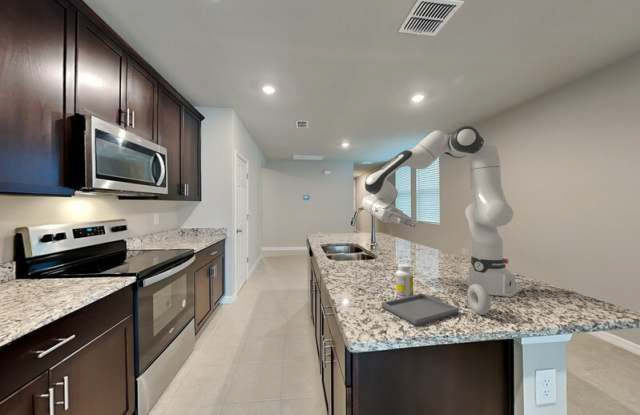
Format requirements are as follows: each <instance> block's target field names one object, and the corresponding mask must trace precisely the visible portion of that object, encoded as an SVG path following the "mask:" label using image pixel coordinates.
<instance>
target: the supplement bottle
mask: <svg viewBox="0 0 640 415" xmlns="http://www.w3.org/2000/svg"><path fill="white" fill-rule="evenodd" d="M397 269H398V270H397V271H395V290H396V291H395V292H396V293H395V294H396V297H398V298H404V297H408V296H413V295H414V274H413V272H412V271H411V270H410V269H411V265H410V264H407V263H400V264H399V263H398V265H397Z"/></svg>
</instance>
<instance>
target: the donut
mask: <svg viewBox="0 0 640 415" xmlns="http://www.w3.org/2000/svg"><path fill="white" fill-rule="evenodd" d="M466 293H467V294H466V296H467V301H468V305H469V307H470V309H471V310H472V312H474V313H475V314H477V315H480V316H483V315H484V316H485V315H486V314H488V313H489V311H490V309H491V305H492V304H491V298H490V295H489V294H488V292H487V291H486V289H485V288H484V287H483V286H481V285H479V284H473V285H471V286H470V287H469V288H468V290H467V292H466Z"/></svg>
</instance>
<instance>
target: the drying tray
mask: <svg viewBox="0 0 640 415" xmlns="http://www.w3.org/2000/svg"><path fill="white" fill-rule="evenodd" d="M381 308H382V309H383V310H385V311H387V313H388V312H389V313H391V314H392V315H394V316H396V317H398V318H399V319H400V320H403V319H404V320H403V321H405V320H406V321H405V322H407V323H408V322H409V324H410V323H411V325H412V326H414V327H419V326H422V325H425V324H429V323H431V322H432V323H433V322H435V321H438V320H442V319H446V318H449V317H453V316H456V315H459V314H460V313H459V312H460V310H459V307H458V306H455V305H451V304H449V303H446V302H443V301H442V300H440V299H439V300H438V299H436V298H434V297H431V296H428V295H426V294H423V293H418V294H413V296H408V297H404V298H400V297H398V298H395V299H391V300H386V301H382V302H381Z"/></svg>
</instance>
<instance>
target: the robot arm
mask: <svg viewBox="0 0 640 415" xmlns="http://www.w3.org/2000/svg"><path fill="white" fill-rule="evenodd" d="M443 154H446V155H448V156H450V157H452V158H455V159H456V158H457V159H459V158H464V157H466V158H467V159H468V161H469V178H470V180H469V181H470V183H469V184H470V188H471V191H472V192H473V195H474V198H475V201H474V202H472V203H470V204H468V205H467V207H466V208H465V210H464V214H465V217H466V219H467V221H468V227H469V231H470V235H471V236H470V237H471V247H472V248H471V254H472V255H471V258H470V264H471V266H470V267H469V272H468V278H467V279H468V280H467V281H466V282H465V285H466V286H468V289H469V287H470V286H471V285H473V284H479V285H481V286H483V287H484V288H485V289H486V291H487V292H488V294H489V296H497V297H498V296H499V297H500V296H501V297H509V298H512V297H514V296H516V295H517V294H519V293H520V292H521V291H523V287H522V286H520V285H517V284H516V277H515V275H514V274H513V273H512V272H511V271H509V270H508V268H506V267H507V266H506V264H507V265H508V264H509V258H504V257H503V250H504V246H503V239H502V237H501V236H500V234H499V230H498V228H499V227H502V226H506V225H507V224H509V223H510V222H511V221H512V220H513V217H514V211H513V208H512V207H511V206H510V204H509V203H508V202H507V200H506V196H505V194H504V190H503V186H502V176H501V161H500V155H499V151H498V148H497V146H496V145H495V144H494V143H490V142H485V140H484V138H483V137H482V136H481V135H480V133H479V131H478V130H477V129H476V128H475V127H473V126H467V125H466V126H461V127H459V128H457V129H455V131H454V132H453V133H452V134H447V133H446V132H444V131H442V130H437V129H436V130H434V131H432V132H430V133H429V134H427V135H426V136H425V137H424V138H423V139H422V140H420V141H419V142H418V144H417V145H414V147H413V148H411V149H408V150H407V149H406V150H403V151H401V152H399V153H398V154H397V155H395V156H393V158H392V159H390V160H389V161H388V162H386V163H385V164H383V166H381V167H380V168H378V169H377V170H376V171H373V172H372V173H370V174H369V175H368V176H367V177H366V178H365V181H364V188H365V190H366V191H367V192H368V193H369V195H365V196H364V197H363V199H362V201H361V206H362V209H363V210H364V211H365V212H366V213H368V214H369V215H371V216H374V217H375V218H376V219H378V220H380V221H381V222H383V223H392V224H400V225H403V226H406V227H409V228H413V229H415V228H417V226H418V225H417V223H415V222H416V220H415V219H414V218H412V217H411V216H409V215H407V214H406V213H404V211H403V210H400V209H399V208H397V207H396V206H395V205H394V204H393V203H394V202H395V200H396V199H397V197H398V194H399V193H398V192H399V191H398V189H397V187H395V186H394V185H393V184H392V183H391V182H390V181H389V180H388V178H389V177H390V176H392V175H393V174H395V173H396V172H397V171H398V170H400V169H401V168H403V167H409V168H411V169H415V170H423V169H424V170H425V169H427V168H429V167H430V166H431V165H432V164H434V162H435V161H436V160H437V159H438V158H440V157H441V155H443Z"/></svg>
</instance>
